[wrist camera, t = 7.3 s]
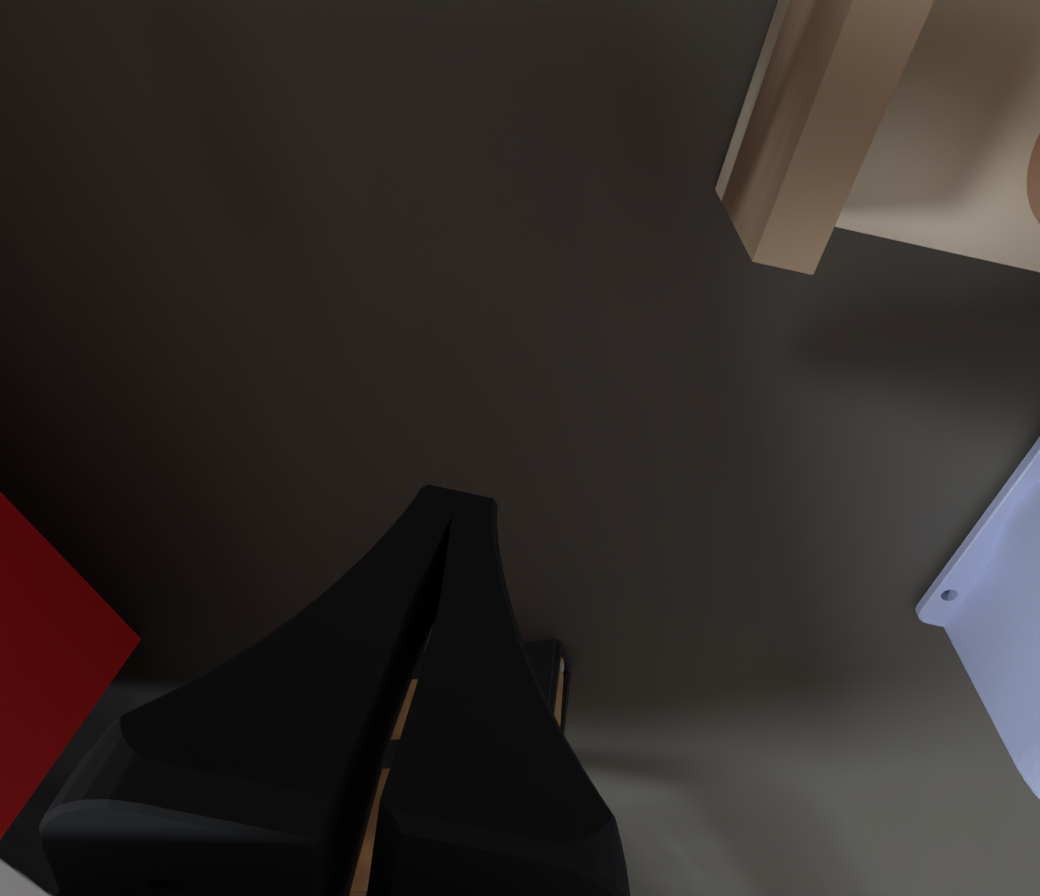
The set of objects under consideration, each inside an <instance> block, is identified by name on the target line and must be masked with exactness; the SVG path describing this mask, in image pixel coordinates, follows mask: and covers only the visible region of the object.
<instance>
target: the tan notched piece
mask: <svg viewBox="0 0 1040 896" xmlns="http://www.w3.org/2000/svg"><path fill="white" fill-rule="evenodd" d="M1039 134H1040V0H778V2H777V5H776V8H775V11H774V14H773V17H772V20H771V23H770V26H769V29H768V32H767V35H766V38H765V41H764V44H763V47H762V50H761V53H760V56H759V59H758V62H757V65H756V68H755V71H754V74H753V77H752V80H751V83H750V86H749V89H748V92H747V95H746V98H745V101H744V104H743V107H742V110H741V113H740V116H739V119H738V122H737V125H736V128H735V131H734V134H733V137H732V140H731V143H730V146H729V149H728V152H727V155H726V158H725V161H724V164H723V167H722V170H721V173H720V176H719V179H718V182H717V185H716V188H715V190H716V192H717V194H718V196H719V198H720V200H721V202H722V204H723V206H724V208H725V210H726V212H727V214H728V216H729V217H730V219H731V221H732V223H733V225H734V227H735V229H736V231H737V233H738V235H739V237H740V239H741V241H742V243H743V245H744V247H745V248H746V250H747V252H748V254H749V256H750V258H751V260H752V262H756V263H760V264H765V265H770V266H774V267H779V268H783V269H788V270H792V271H797V272H801V273H806V274H810V275H813V274H814V272H815V270H816V268H817V265H818V263H819V261H820V259H821V256H822V254H823V252H824V249H825V247H826V245H827V243H828V240H829V238H830V236H831V234H832V231H833V229H834V227H838V228H843V229H847V230H852V231H856V232H861V233H865V234H870V235H874V236H879V237H883V238H888V239H892V240H897V241H901V242H906V243H910V244H915V245H919V246H924V247H928V248H933V249H937V250H942V251H946V252H951V253H955V254H960V255H964V256H969V257H973V258H978V259H982V260H987V261H991V262H996V263H1000V264H1005V265H1009V266H1014V267H1018V268H1023V269H1027V270H1032V271H1036V272H1040V224H1039V223H1038V221H1037V219H1036V218H1035V216H1034V215H1033V212H1032V210H1031V207H1030V205H1029V200H1028V195H1027V171H1028V165H1029V161H1030V157H1031V153H1032V150H1033V148H1034V145H1035V142H1036V140H1037V138H1038V136H1039Z"/></svg>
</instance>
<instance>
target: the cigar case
mask: <svg viewBox="0 0 1040 896" xmlns="http://www.w3.org/2000/svg"><path fill="white" fill-rule="evenodd" d="M523 644H524V647H525V650H526V652H527V655H528V658H529V660H530V663H531V665H532V668H533V670H534V673H535V675H536V677H537V680H538V682H539V684H540V687H541V689H542V691H543V694H544V696H545V698H546V700H547V702H548V704H549V706H550V708H551V710H552V712H553V714H554V716H555V718H556V720H557V722H558V724H559V726H560V728H561V730H562V732H563V734H564V730H565V721H566V712H567V703H568V694H569V685H570V676H571V669H570V666H569V663H568V660H567V657H566V655H565V652H564V649H563V646H562V643H560V642H558V641H557V640H549V641H540V642H531V643H523ZM424 657H425V654H421V657H420V660H419V662H418V665H417V668H416V671H415V673H414V676H413V679H412V682H411V684H410V687H409V690H408V692H407V695H406V698H405V701H404V703H403V706H402V709H401V711H400V714H399V717H398V720H397V722H396V725H395V728H394V731H393V734H392V737H391V741H390V744H389V747H388V750H387V754H386V758H385V762H384V765H383V769H382V773H381V777H380V780H379V784H378V788H377V792H376V795H375V799H374V803H373V807H372V810H371V814H370V818H369V822H368V826H367V830H366V833H365V837H364V841H363V845H362V849H361V852H360V856H359V860H358V864H357V868H356V872H355V876H354V880H353V884H352V887H351V891H350V895H349V896H366V892H367V889H368V882H369V875H370V868H371V860H372V853H373V846H374V839H375V831H376V824H377V817H378V810H379V802H380V797H381V794H382V791H383V788H384V785H385V782H386V779H387V776H388V773H389V770H390V767H391V764H392V761H393V758H394V755H395V752H396V749H397V745H398V742H399V739H400V736H401V733H402V730H403V727H404V723H405V720H406V717H407V714H408V710H409V707H410V704H411V701H412V697H413V694H414V691H415V688H416V684H417V681H418V677H419V674H420V671H421V667H422V664H423V661H424Z"/></svg>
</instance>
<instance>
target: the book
mask: <svg viewBox="0 0 1040 896" xmlns="http://www.w3.org/2000/svg"><path fill="white" fill-rule="evenodd" d="M140 640H141V638H140V637H139V636H138V635H137V634H136V633H135V632H134V631H133V630H132V629H131V628H130V627H129V626H128V625H127V624H126V623H125V622H124V621H123V620H122V618H121V617H120V616H119V615H118V614H117V613H116V612H115V611H114V610H113V609H112V608H111V607H110V606H109V605H108V604H107V603H106V602H105V601H104V600H103V599H102V598H101V597H100V595H99V594H98V593H97V592H96V591H95V590H94V589H93V588H92V587H91V586H90V585H89V584H88V583H87V582H86V581H85V580H84V579H83V578H82V577H81V576H80V575H79V574H78V572H77V571H76V570H75V569H74V568H73V567H72V566H71V565H70V564H69V563H68V562H67V561H66V560H65V559H64V558H63V557H62V556H61V555H60V554H59V553H58V552H57V551H56V549H55V548H54V547H53V546H52V545H51V544H50V543H49V542H48V541H47V540H46V539H45V538H44V537H43V536H42V535H41V534H40V533H39V532H38V531H37V530H36V529H35V528H34V526H33V525H32V524H31V523H30V522H29V521H28V520H27V519H26V518H25V517H24V516H23V515H22V514H21V513H20V512H19V511H18V510H17V509H16V508H15V507H14V506H13V505H12V503H11V502H10V501H9V500H8V499H7V498H6V497H5V496H4V495H3V494H2V493H1V492H0V839H1V838H2V836H3V835H4V833H5V832H6V831H7V829H8V828H9V826H10V825H11V824H12V822H13V821H14V819H15V818H16V816H17V815H18V814H19V812H20V811H21V809H22V808H23V807H24V805H25V804H26V802H27V801H28V799H29V798H30V797H31V795H32V794H33V792H34V791H35V789H36V788H37V787H38V785H39V784H40V782H41V781H42V780H43V778H44V777H45V775H46V774H47V772H48V771H49V770H50V768H51V767H52V765H53V764H54V762H55V761H56V760H57V758H58V757H59V755H60V754H61V753H62V751H63V750H64V748H65V747H66V745H67V744H68V743H69V741H70V740H71V738H72V737H73V735H74V734H75V733H76V731H77V730H78V728H79V727H80V726H81V724H82V723H83V721H84V720H85V718H86V717H87V716H88V714H89V713H90V711H91V710H92V708H93V707H94V706H95V704H96V703H97V701H98V700H99V699H100V697H101V696H102V694H103V693H104V691H105V690H106V689H107V687H108V686H109V684H110V683H111V682H112V680H113V679H114V677H115V676H116V674H117V673H118V672H119V670H120V669H121V667H122V666H123V664H124V663H125V662H126V660H127V659H128V657H129V656H130V655H131V653H132V652H133V650H134V649H135V647H136V646H137V645H138V643H139V642H140Z"/></svg>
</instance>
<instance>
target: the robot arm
mask: <svg viewBox="0 0 1040 896" xmlns="http://www.w3.org/2000/svg"><path fill="white" fill-rule="evenodd" d="M497 506H498V505H497V503H496V502H495V501H494V499H493V498H488V497H484V496H479V495H474V494H470V493H465V492H460V491H455V490H451V489H446V488H441V487H437V486H432V485H426V486H424V487H422V488H421V489H420V491H419V492H418V494H417V495H416V497H415V498H414V500H413V501H412V502H411V504H410V505H409V506H408V508H407V509H406V510H405V511H404V513H403V514H402V515H401V516H400V518H399V519H398V520H397V521H396V522H395V523H394V525H393V526H392V527H391V528H390V529H389V530H388V531H387V532H386V534H385V535H384V536H383V537H382V538H381V539H380V540H379V541H378V542H377V543H376V544H375V545H374V546H373V547H372V549H371V550H370V551H369V552H368V553H367V554H366V555H365V556H364V557H363V558H362V559H361V560H359V561H358V562H357V563H356V564H355V565H354V566H353V567H352V568H351V569H350V570H349V571H348V572H347V573H346V574H345V575H343V576H342V577H341V578H340V579H339V580H338V581H337V582H336V583H335V584H334V585H332V586H331V587H330V588H329V589H328V590H327V591H325V592H324V593H323V594H322V595H321V596H319V597H318V598H317V599H316V600H315V601H313V602H312V603H311V604H309V605H308V606H307V607H306V608H304V609H303V610H302V611H300V612H299V613H298V614H297V615H295V616H294V617H293V618H291V619H290V620H288V621H287V622H286V623H284V624H283V625H281V626H280V627H278V628H277V629H276V630H274V631H273V632H271V633H270V634H268V635H267V636H266V637H264V638H263V639H261V640H260V641H258V642H257V643H255V644H254V645H252V646H250V647H249V648H247V649H246V650H244V651H243V652H241V653H239V654H237V655H236V656H234V657H232V658H231V659H229V660H227V661H225V662H224V663H222V664H220V665H219V666H217V667H215V668H213V669H212V670H210V671H208V672H207V673H205V674H203V675H201V676H200V677H198V678H196V679H194V680H193V681H191V682H189V683H187V684H185V685H183V686H181V687H179V688H177V689H175V690H173V691H171V692H169V693H167V694H165V695H163V696H161V697H159V698H157V699H155V700H153V701H151V702H149V703H147V704H144V705H142V706H140V707H138V708H136V709H134V710H132V711H130V712H128V713H126V714H124V715H121V716H119V717H118V718H117V719H116V720H115V722H114V723H113V724H112V725H111V726H110V727H109V728H108V729H107V731H106V732H105V733H104V734H103V735H102V736H101V737H100V739H99V740H98V741H97V742H96V744H95V745H94V746H93V747H92V748H91V749H90V751H89V752H88V753H87V754H86V755H85V756H84V758H83V759H82V760H81V761H80V763H79V764H78V766H77V767H76V769H75V770H74V771H73V773H72V774H71V776H70V777H69V779H68V780H67V782H66V783H65V785H64V786H63V788H62V789H61V791H60V792H59V794H58V795H57V797H56V798H55V800H54V801H53V803H52V804H51V806H50V807H49V809H48V811H47V812H46V814H45V815H44V817H43V819H42V821H41V823H40V825H39V829H40V837H41V842H42V846H43V849H44V851H45V854H46V856H47V859H48V861H49V864H50V867H51V869H52V872H53V874H54V877H55V879H56V882H57V884H58V887H59V889H60V891H59V893H58V895H57V896H349V895H350V891H351V887H352V884H353V880H354V876H355V872H356V868H357V864H358V860H359V856H360V852H361V849H362V845H363V841H364V837H365V833H366V830H367V826H368V822H369V818H370V814H371V810H372V807H373V803H374V799H375V795H376V792H377V788H378V784H379V780H380V777H381V773H382V769H383V765H384V762H385V758H386V754H387V750H388V747H389V744H390V741H391V737H392V734H393V731H394V728H395V725H396V722H397V720H398V717H399V714H400V711H401V709H402V706H403V703H404V701H405V698H406V695H407V692H408V690H409V687H410V684H411V682H412V679H413V676H414V673H415V671H416V668H417V665H418V662H419V660H420V657H421V654H422V652H423V649H424V646H425V643H426V641H427V638H428V635H429V632H430V630H431V627H432V624H433V621H434V624H433V630H432V633H431V637H430V640H429V644H428V647H427V651H426V654H425V657H424V661H423V664H422V667H421V671H420V674H419V677H418V681H417V684H416V688H415V691H414V694H413V697H412V701H411V704H410V707H409V710H408V714H407V717H406V720H405V723H404V727H403V730H402V733H401V736H400V739H399V742H398V745H397V749H396V752H395V755H394V758H393V761H392V764H391V767H390V770H389V773H388V776H387V779H386V782H385V785H384V788H383V791H382V794H381V797H380V802H379V810H378V817H377V824H376V831H375V839H374V846H373V853H372V860H371V868H370V875H369V882H368V889H367V892H366V896H630V890H629V882H628V875H627V868H626V863H625V858H624V853H623V848H622V844H621V839H620V835H619V831H618V827H617V824H616V820H615V817H614V815H613V814H612V812H611V811H610V809H609V808H608V806H607V805H606V803H605V802H604V800H603V799H602V797H601V796H600V794H599V793H598V791H597V790H596V788H595V786H594V785H593V783H592V782H591V780H590V779H589V777H588V775H587V774H586V772H585V771H584V769H583V767H582V766H581V764H580V762H579V760H578V759H577V757H576V755H575V753H574V752H573V750H572V748H571V746H570V745H569V743H568V741H567V739H566V738H565V736H564V734H563V732H562V730H561V728H560V726H559V724H558V722H557V720H556V718H555V716H554V714H553V712H552V710H551V708H550V706H549V704H548V702H547V700H546V698H545V696H544V694H543V691H542V689H541V687H540V684H539V682H538V680H537V677H536V675H535V673H534V670H533V668H532V665H531V663H530V660H529V658H528V655H527V652H526V650H525V647H524V644H523V641H522V639H521V636H520V633H519V629H518V626H517V623H516V620H515V616H514V613H513V610H512V606H511V603H510V599H509V595H508V591H507V587H506V582H505V577H504V572H503V568H502V563H501V557H500V551H499V543H498V534H497ZM947 590H950V591H948V592H944V591H947ZM915 609H916V613H917V615H918V617H919V619H920V620H921V621H922V622H924V623H927V624H931V625H936V626H941V627H944V629H945V631H946V633H947V635H948V636H949V638H950V640H951V642H952V644H953V646H954V648H955V650H956V652H957V654H958V656H959V658H960V660H961V661H962V663H963V665H964V667H965V669H966V671H967V673H968V675H969V677H970V679H971V681H972V683H973V685H974V686H975V688H976V690H977V692H978V694H979V696H980V698H981V700H982V702H983V704H984V706H985V708H986V710H987V711H988V713H989V715H990V717H991V719H992V721H993V723H994V725H995V727H996V729H997V731H998V733H999V735H1000V736H1001V738H1002V740H1003V742H1004V744H1005V746H1006V748H1007V750H1008V752H1009V754H1010V756H1011V758H1012V760H1013V761H1014V763H1015V765H1016V767H1017V769H1018V770H1019V772H1020V774H1021V775H1022V777H1023V778H1024V780H1025V781H1026V783H1027V784H1028V785H1029V787H1030V788H1031V789H1032V791H1033V792H1034V793H1035V795H1036V796H1037V797H1038V798H1039V799H1040V437H1039V438H1038V440H1037V441H1036V442H1035V444H1034V445H1033V447H1032V448H1031V449H1030V451H1029V452H1028V453H1027V455H1026V456H1025V458H1024V459H1023V460H1022V462H1021V463H1020V464H1019V466H1018V467H1017V468H1016V470H1015V471H1014V473H1013V474H1012V475H1011V477H1010V478H1009V479H1008V481H1007V482H1006V484H1005V485H1004V486H1003V488H1002V489H1001V490H1000V492H999V493H998V494H997V496H996V497H995V499H994V500H993V501H992V503H991V504H990V505H989V507H988V508H987V510H986V511H985V512H984V514H983V515H982V516H981V518H980V519H979V521H978V522H977V523H976V525H975V526H974V527H973V529H972V530H971V531H970V533H969V534H968V536H967V537H966V538H965V540H964V541H963V542H962V544H961V545H960V547H959V548H958V549H957V551H956V552H955V553H954V555H953V556H952V558H951V559H950V560H949V562H948V563H947V564H946V566H945V567H944V568H943V570H942V571H941V573H940V574H939V575H938V577H937V578H936V579H935V581H934V582H933V584H932V585H931V586H930V588H929V589H928V590H927V592H926V593H925V595H924V596H923V597H922V599H921V600H920V601H919V603H918V604H917V606H916V608H915Z"/></svg>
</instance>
